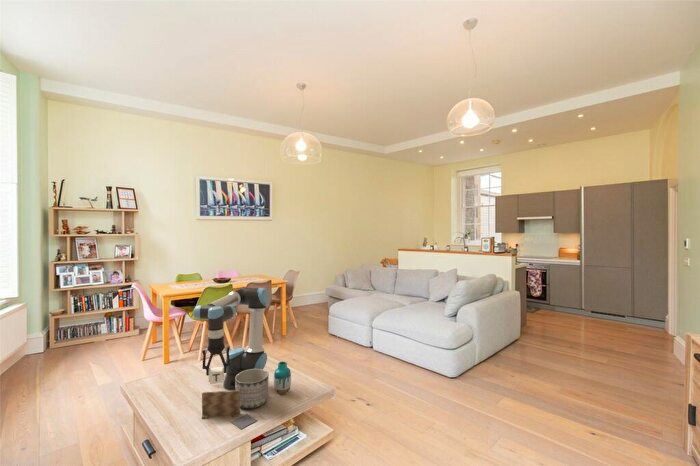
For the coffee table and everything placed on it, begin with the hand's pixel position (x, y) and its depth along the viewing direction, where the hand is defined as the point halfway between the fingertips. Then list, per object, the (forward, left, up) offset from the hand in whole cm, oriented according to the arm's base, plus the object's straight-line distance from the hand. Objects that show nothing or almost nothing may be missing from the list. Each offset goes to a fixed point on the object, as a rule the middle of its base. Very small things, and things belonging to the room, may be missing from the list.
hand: (216, 379), depth 174 cm
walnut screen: (-8, +7, -25) cm, 27 cm away
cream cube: (0, 0, 0) cm, 0 cm away
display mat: (+8, +11, -25) cm, 28 cm away
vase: (0, +44, -25) cm, 51 cm away
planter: (-5, +25, -25) cm, 36 cm away
